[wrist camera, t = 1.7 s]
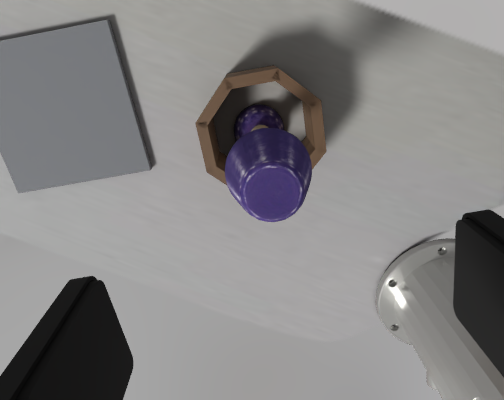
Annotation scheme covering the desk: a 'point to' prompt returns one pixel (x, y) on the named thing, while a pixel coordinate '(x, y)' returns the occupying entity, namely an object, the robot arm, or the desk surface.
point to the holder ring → (252, 77)
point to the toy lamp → (267, 166)
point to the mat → (67, 109)
